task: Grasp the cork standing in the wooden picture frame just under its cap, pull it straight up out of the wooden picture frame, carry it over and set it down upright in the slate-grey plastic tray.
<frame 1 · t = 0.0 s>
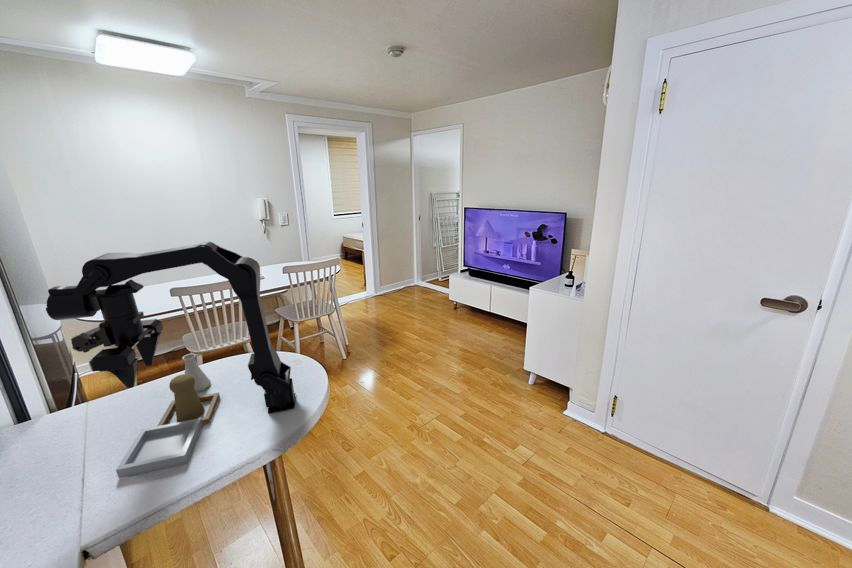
hand: (140, 375, 79), 15 cm above the kitchen counter, fingers open, 9 cm apart
flask: (196, 387, 99), on the kitchen counter
wooden picture frame: (190, 414, 88), on the kitchen counter
tray: (164, 449, 77), on the kitchen counter
cork: (191, 415, 88), resting in wooden picture frame
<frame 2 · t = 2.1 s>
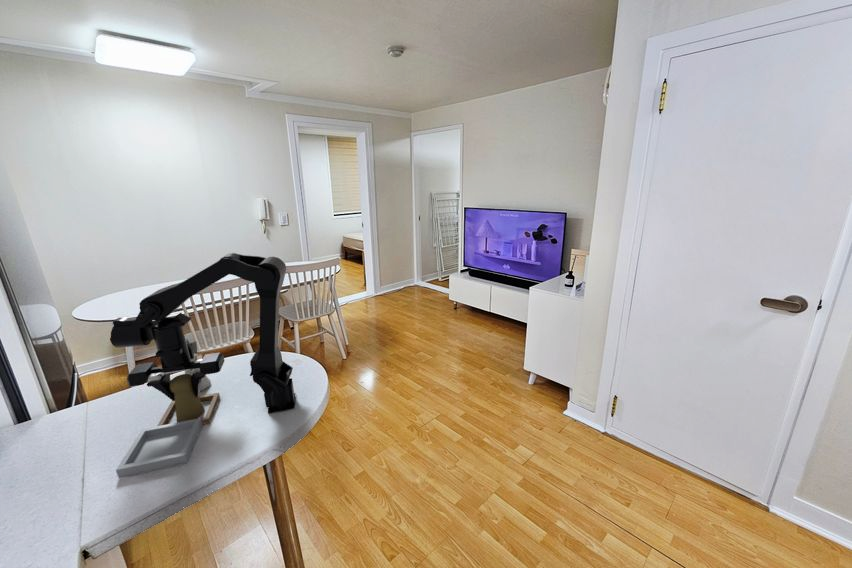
hand: (186, 397, 86), 5 cm above the kitchen counter, fingers closed on cork, 5 cm apart
cork: (191, 415, 88), resting in wooden picture frame, touching gripper
everything else where it was.
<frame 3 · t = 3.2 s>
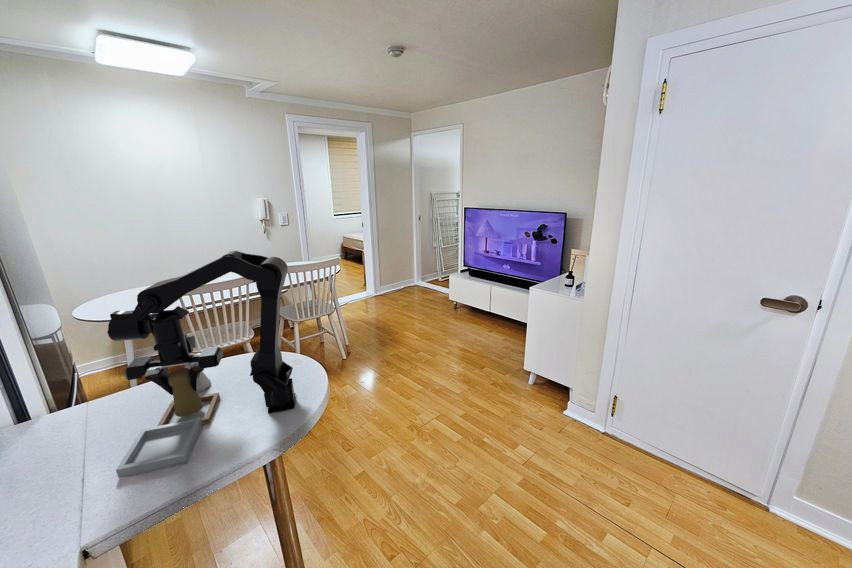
hand: (184, 392, 86), 7 cm above the kitchen counter, fingers closed on cork, 5 cm apart
cork: (189, 409, 87), point 1 cm above the kitchen counter, touching gripper
everything else where it was.
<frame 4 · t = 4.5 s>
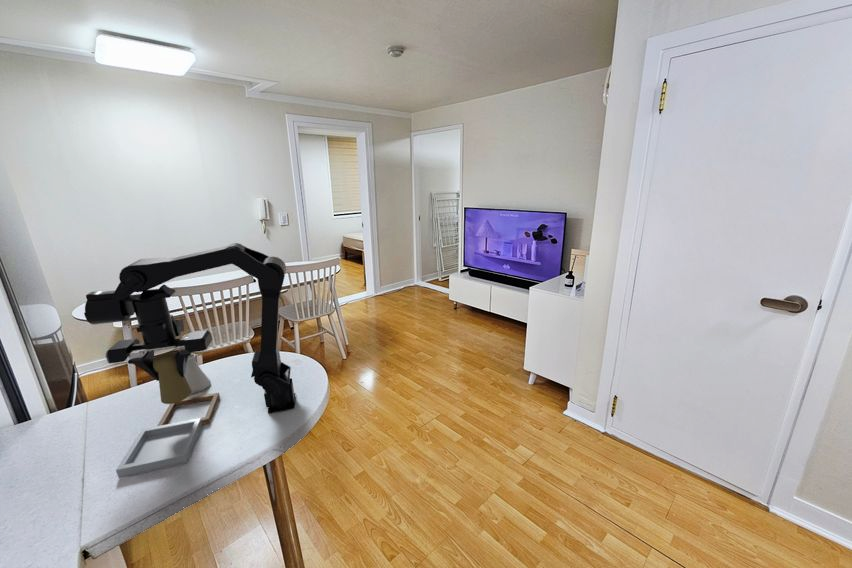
hand: (171, 377, 81), 13 cm above the kitchen counter, fingers closed on cork, 5 cm apart
cork: (176, 396, 82), point 8 cm above the kitchen counter, touching gripper
everything else where it was.
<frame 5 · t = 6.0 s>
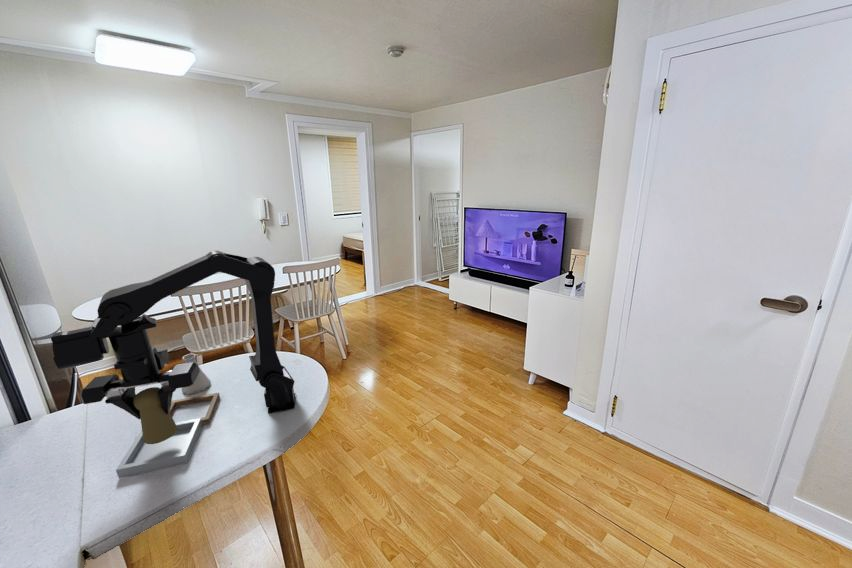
hand: (154, 415, 74), 9 cm above the kitchen counter, fingers closed on cork, 5 cm apart
cork: (161, 434, 76), point 4 cm above the kitchen counter, touching gripper
everything else where it was.
when the fingers open (6 cm above the kitchen counter, at t = 7.0 s): cork stays where it is, resting on tray.
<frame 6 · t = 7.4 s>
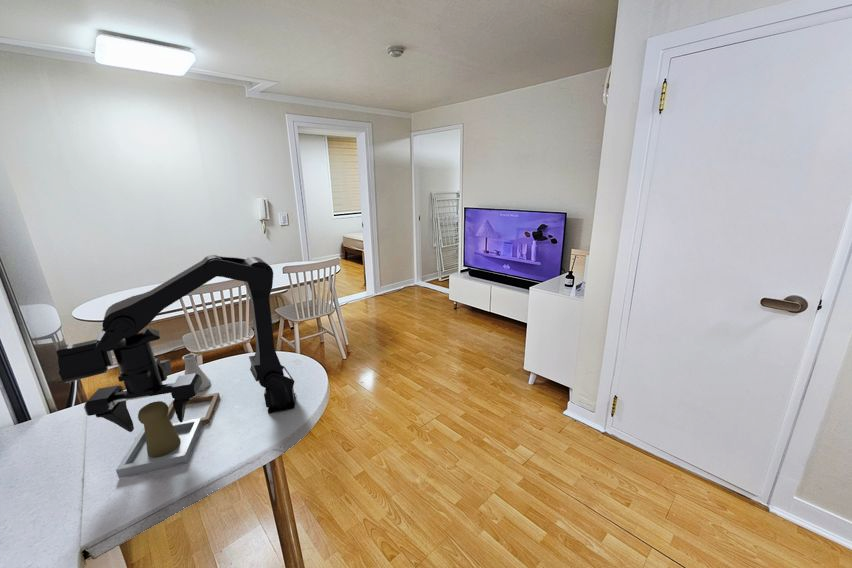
hand: (157, 425, 75), 6 cm above the kitchen counter, fingers open, 9 cm apart
cork: (164, 447, 77), resting on tray
everything else where it was.
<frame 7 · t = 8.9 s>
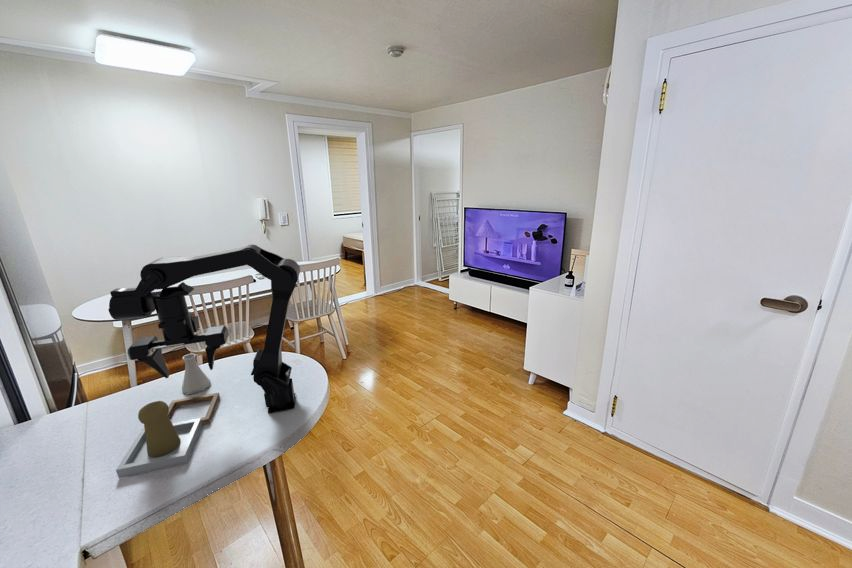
hand: (190, 373, 83), 13 cm above the kitchen counter, fingers open, 9 cm apart
nothing on the kitchen counter moved.
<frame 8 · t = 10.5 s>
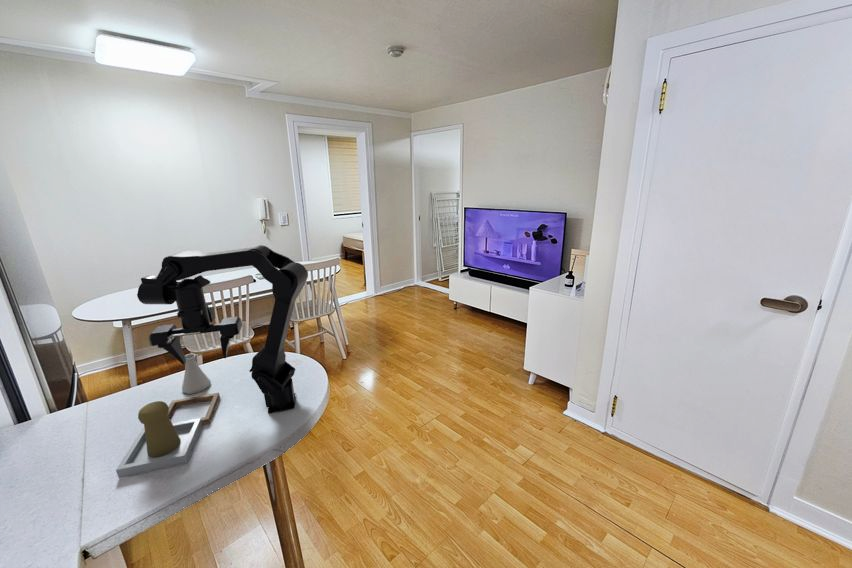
hand: (205, 360, 88), 13 cm above the kitchen counter, fingers open, 9 cm apart
nothing on the kitchen counter moved.
at the end: cork inside the target area on the tray (0.1 cm from its centre), point 0.4 cm above the tray's base; cork tilted 0°; the gripper is holding nothing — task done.
